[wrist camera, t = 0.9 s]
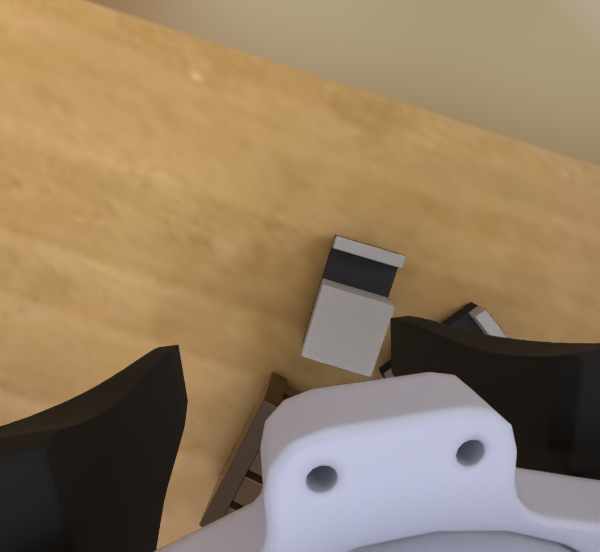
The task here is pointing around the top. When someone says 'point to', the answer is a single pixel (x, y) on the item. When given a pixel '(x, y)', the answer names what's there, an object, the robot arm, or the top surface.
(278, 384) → the slatted wooden tray
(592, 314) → the top surface
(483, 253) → the top surface
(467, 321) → the slipper
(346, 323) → the slipper
